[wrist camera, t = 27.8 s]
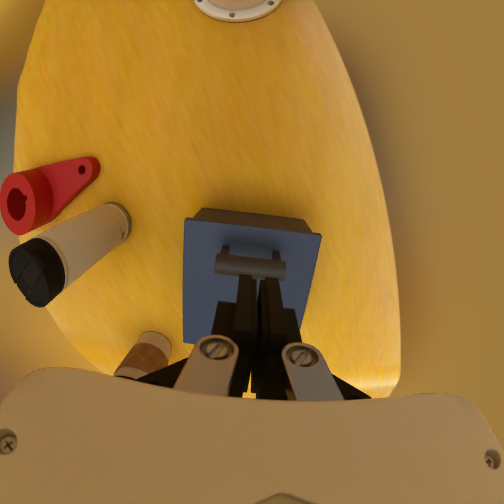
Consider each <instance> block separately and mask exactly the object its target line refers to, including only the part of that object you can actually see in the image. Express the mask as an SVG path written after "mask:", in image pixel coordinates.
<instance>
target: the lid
mask: <svg viewBox="0 0 504 504" xmlns="http://www.w3.org/2000/svg"><path fill="white" fill-rule="evenodd" d="M321 238H322V235H321V234H320V233H314V232H306V231H298V230H291V229H283V228H275V227H267V226H258V225H250V224H241V223H232V222H224V221H214V220H205V219H195V218H186V219H185V226H184V251H183V342H184V343H191V344H196V343H197V341H198V340H199V339H201V338H202V337H205V336H208V335H211V331H212V327H213V322H214V317H215V312H216V308H217V303H218V301H225V302H234V303H236V299H237V290H238V282H239V274H247V275H252V278H253V279H257V297H258V290H259V284H260V279H261V280H265V277H273V278H278V279H279V284H280V290H281V296H282V302H283V307H284V308H292V309H294V310H295V313H296V317H297V322H298V326H299V331H300V327H301V324H302V320H303V316H304V312H305V308H306V304H307V300H308V296H309V292H310V287H311V283H312V279H313V274H314V270H315V266H316V261H317V257H318V252H319V247H320V242H321Z"/></svg>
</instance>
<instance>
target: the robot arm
mask: <svg viewBox="0 0 504 504" xmlns="http://www.w3.org/2000/svg"><path fill="white" fill-rule="evenodd" d="M281 1H282V0H194V2H195V4H196V6H197V7H198V9H199V10H201V11H202V12H203V13H204V14H206V15H207V16H209V17H211V18H214V19H217V20H221V21H226V22H245V21H250V20H254V19H258V18H261V17H263V16H265V15H267V14H269V13H270V12H272V11H273V10H274V9H275V8H276V7H277V6H278V5H279V4H280V2H281ZM250 373H251V393H256V399H251V398H242V395H243V392H247V389H248V384H249V379H250ZM0 504H504V452H503V450H502V447H501V446H500V443H499V442H498V440H497V438H496V436H495V434H494V432H493V431H492V429H491V427H490V426H489V424H488V422H487V421H486V419H485V418H484V416H483V415H482V414H481V412H480V411H479V410H478V408H477V407H476V406H475V405H474V404H473V403H472V402H471V401H470V400H468V399H466V398H464V397H461V396H457V395H452V394H446V393H423V394H414V395H404V396H394V397H385V398H373V399H372V398H371V397H370V396H368V395H367V394H365V393H363V392H362V391H360V390H358V389H357V388H355V387H353V386H351V385H350V384H348V383H346V382H345V381H343V380H341V379H340V378H338V377H336V376H335V375H333V374H331V372H330V370H329V368H328V366H327V364H326V362H325V360H324V358H323V356H322V354H321V353H320V351H319V350H318V349H316V348H315V347H314V346H312V345H309V344H306V343H302V340H301V335H300V331H299V326H298V322H297V317H296V313H295V310H294V309H292V308H284V307H283V302H282V296H281V290H280V284H279V279H278V278H273V277H265V280H261V279H260V284H259V290H258V297H257V279H253V278H252V275H247V274H239V282H238V290H237V299H236V303H234V302H225V301H218V303H217V308H216V312H215V317H214V322H213V327H212V331H211V335H208V336H205V337H202V338H201V339H199V340H198V341H197V343H196V344H195V346H194V348H193V350H192V352H191V354H190V356H189V357H188V358H186V359H183V360H181V361H179V362H176V363H174V364H171V365H169V366H167V367H164V368H162V369H159V370H157V371H154V372H152V373H149V374H147V375H144V376H142V377H139V378H138V379H136V380H134V381H133V380H129V379H124V378H120V377H115V376H111V375H107V374H103V373H99V372H95V371H89V370H84V369H78V368H69V367H49V368H42V369H38V370H35V371H33V372H31V373H29V374H28V375H26V376H25V377H24V378H23V379H22V380H21V381H20V382H19V383H18V384H17V385H16V386H15V387H14V388H13V389H12V391H11V392H10V393H9V394H8V396H7V397H6V398H5V400H4V401H3V402H2V404H1V405H0Z"/></svg>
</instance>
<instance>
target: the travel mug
mask: <svg viewBox="0 0 504 504" xmlns="http://www.w3.org/2000/svg"><path fill="white" fill-rule="evenodd" d="M130 229H131V222H130V218H129V215H128V213H127V211H126V210H125V209H124V208H123V207H122V206H121V205H119V204H117V203H111V202H109V203H105V204H103V205H101V206H98V207H96V208H94V209H92V210H89V211H87V212H85V213H82V214H80V215H78V216H76V217H74V218H72V219H69V220H67V221H65V222H63V223H61V224H59V225H57V226H55V227H53V228H51V229H49V230H47V231H45V232H43V233H41V234H39V235H37V236H35V237H33V238H31V239H30V240H29V241H27V242H25V243H23V244H21V245H19V246H18V247H16V248H14V249H13V250H12V251H11V252H10V255H9V269H10V273H11V276H12V279H13V281H14V283H16V284H17V286H18V288H19V289H20V291H21V292H22V293H23V295H24V296H25V297H26V298H25V299H26V300H27V301H28V302H29V303H31V304H32V305H34V306H36V307H45V306H46V305H47V304H48V303H49V302H50V301H52V300H53V299H54V298H55V297H56V296H57V295H59V294H60V293H61V292H62V291H63V290H65V289H66V288H67V287H68V286H69V285H70V284H72V283H73V282H74V281H75V280H76V279H77V278H79V277H80V276H81V275H82V274H83V273H85V272H86V271H87V270H88V269H89V268H91V267H92V266H93V265H94V264H95V263H97V262H98V261H99V260H100V259H102V258H103V257H104V256H105V255H107V254H108V253H109V252H110V251H112V250H113V249H114V248H115V247H117V246H118V245H119V244H121V243H122V242H123V241H124V240H125V239H126V238H127V237H128V235H129V233H130Z"/></svg>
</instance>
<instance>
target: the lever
mask: <svg viewBox="0 0 504 504" xmlns="http://www.w3.org/2000/svg"><path fill="white" fill-rule="evenodd" d="M99 172H100V164H99V162H98V160H97V159H96V158H94V157H83V158H77V159H73V160H68V161H64V162H59V163H55V164H51V165H47V166H43V167H39V168H35V169H31V170H26V171H21V172H17V173H12V174H10V175H9V176H8V177H7V178H6V179H5V181H4V182H3V184H2V187H1V192H0V210H1V214H2V217H3V220H4V222H5V224H6V226H7V227H8V228H9V229H10V230H11V231H12V232H13V233H15V234H17V235H24V234H26V233H28V232H30V231H32V230H34V229H36V228H38V227H40V226H43V225H45V224H47V223H49V222H51V221H52V220H54V219H55V217H56V216H57V215H58V214H59V213H60V212H61V211H62V210H63V209H64V208H65V207H66V206H67V205H68V204H69V203H70V202H71V201H72V200H73V199H74V198H75V197H76V196H77V195H78V194H80V193H81V192H82V191H83V190H84V189H85V188H86V187H87V186H88V185H89V184H90V183H91V182H93V181H94V180H95V179H96V178H97V177H98V175H99Z"/></svg>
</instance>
